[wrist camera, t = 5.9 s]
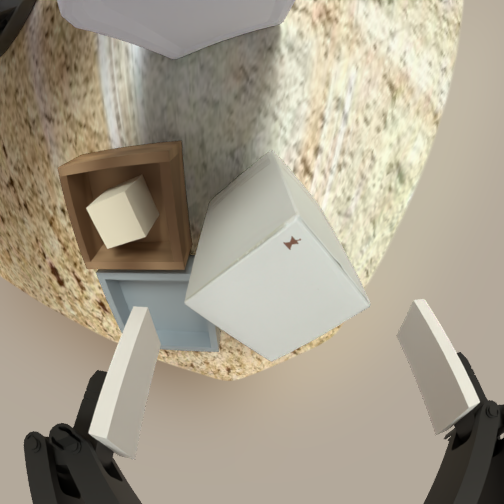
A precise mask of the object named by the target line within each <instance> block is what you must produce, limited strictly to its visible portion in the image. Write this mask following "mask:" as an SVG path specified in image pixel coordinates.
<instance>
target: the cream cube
mask: <svg viewBox="0 0 504 504" xmlns="http://www.w3.org/2000/svg"><path fill="white" fill-rule="evenodd" d="M86 209H87V211H88V213H89V215H90V217H91V219H92V221H93V223H94V225H95V227H96V229H97V231H98V232H99V234H100V236H101V238H102V240H103V242H104V244H105V245H106V247H107V249H109V248H112V247H115V246H118V245H122V244H125V243H128V242H131V241H134V240H138V239H141V238H144V237H146V236H147V234H148V233H149V231H150V229H151V228H152V226H153V224H154V223H155V221H156V219H157V218H158V216H159V212H158V210H157V208H156V206H155V203H154V201H153V199H152V196H151V194H150V192H149V189H148V187H147V185H146V182H145V180H144V177H143V175H140V176H138V177H135V178H133V179H130V180H128V181H126V182H123V183H121V184H119V185H116V186H114V187H112V188H109V189H107V190H106V191H105V192H103V193H102V194H101V195H100V196H99V197H98V198H96V199H95V200H94V201H93V202H92V203H91V204H90V205H89V206H88V207H86Z"/></svg>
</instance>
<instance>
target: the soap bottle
mask: <svg viewBox="0 0 504 504" xmlns="http://www.w3.org/2000/svg"><path fill="white" fill-rule="evenodd" d="M57 2H58V6H59V10H60V13H61V16H62V17H63V18H65V19H66V20H67V21H68V22H69V23H70V24H72V25H73V26H74V27H76V28H80V29H84V30H88V31H92V32H96V33H99V34H103V35H106V36H110V37H113V38H116V39H119V40H122V41H126V42H128V43H131V44H134V45H137V46H140V47H143V48H145V49H148V50H151V51H153V52H156V53H158V54H161V55H163V56H166V57H168V58H171V59H178V58H181V57H183V56H186V55H188V54H190V53H193V52H195V51H197V50H200V49H202V48H205V47H208V46H210V45H213V44H215V43H218V42H221V41H224V40H227V39H230V38H233V37H236V36H239V35H242V34H245V33H249V32H252V31H256V30H259V29H263V28H267V27H271V26H275V25H278V24H281V23H282V22H283V21H284V20H285V18H286V16H287V14H288V12H289V11H290V9H291V7H292V5H293V4H294V2H295V0H57Z"/></svg>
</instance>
